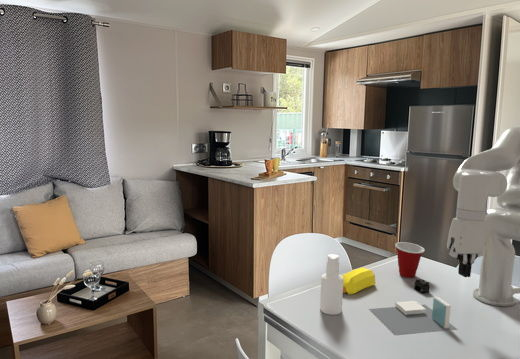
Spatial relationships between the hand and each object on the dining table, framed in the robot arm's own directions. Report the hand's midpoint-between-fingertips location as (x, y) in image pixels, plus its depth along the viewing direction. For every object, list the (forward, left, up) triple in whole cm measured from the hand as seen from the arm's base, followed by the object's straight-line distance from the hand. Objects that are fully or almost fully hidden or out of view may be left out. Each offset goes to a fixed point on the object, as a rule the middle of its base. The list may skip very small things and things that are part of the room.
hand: (464, 275), depth 119 cm
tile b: (+7, 0, -15) cm, 16 cm away
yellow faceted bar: (+20, -29, -16) cm, 39 cm away
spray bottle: (+36, -14, -15) cm, 41 cm away
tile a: (+7, -9, -14) cm, 18 cm away
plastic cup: (-5, -37, -15) cm, 41 cm away
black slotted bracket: (-2, -22, -16) cm, 27 cm away
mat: (+14, -4, -15) cm, 21 cm away
